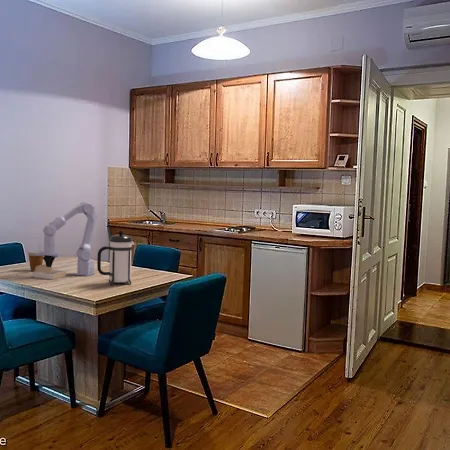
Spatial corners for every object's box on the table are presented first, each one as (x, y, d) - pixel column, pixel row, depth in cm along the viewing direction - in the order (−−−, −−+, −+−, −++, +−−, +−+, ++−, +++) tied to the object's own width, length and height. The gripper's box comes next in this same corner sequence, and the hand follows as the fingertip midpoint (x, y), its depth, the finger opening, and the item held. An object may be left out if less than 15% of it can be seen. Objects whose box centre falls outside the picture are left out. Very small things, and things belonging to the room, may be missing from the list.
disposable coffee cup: (38, 272, 298) (38, 253, 297) (24, 271, 300) (24, 252, 299) (47, 269, 307) (47, 251, 306) (33, 268, 309) (33, 250, 308)
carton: (66, 276, 289) (66, 271, 289) (53, 279, 278) (53, 274, 278) (47, 274, 294) (47, 269, 294) (32, 277, 282) (32, 272, 282)
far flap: (48, 263, 292) (48, 263, 292) (36, 266, 282) (36, 266, 282) (46, 268, 293) (46, 268, 293) (34, 271, 283) (34, 271, 283)
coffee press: (117, 279, 286) (118, 228, 284) (138, 282, 278) (140, 230, 275) (96, 283, 271) (97, 230, 269) (117, 287, 263) (118, 232, 261)
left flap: (52, 267, 280) (51, 267, 280) (50, 273, 279) (50, 273, 279) (37, 265, 283) (37, 265, 283) (36, 271, 282) (36, 271, 282)
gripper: (34, 245, 283) (34, 268, 284) (55, 247, 278) (54, 270, 279) (42, 244, 290) (42, 266, 291) (63, 245, 285) (62, 268, 286)
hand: (49, 268), depth 286 cm, fingers closed
